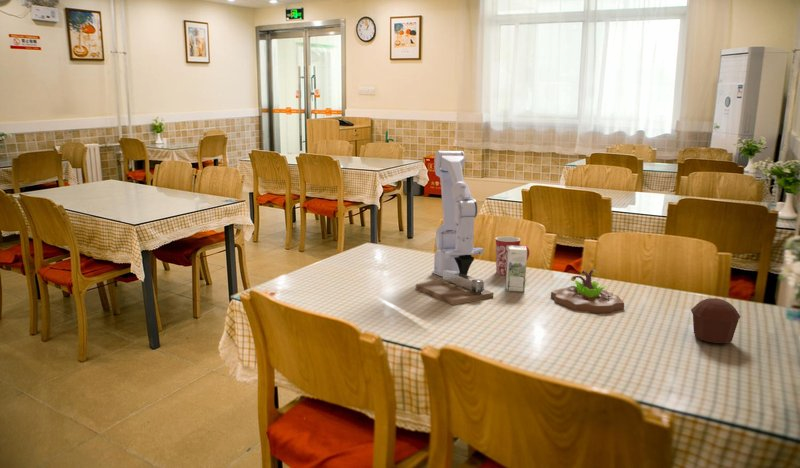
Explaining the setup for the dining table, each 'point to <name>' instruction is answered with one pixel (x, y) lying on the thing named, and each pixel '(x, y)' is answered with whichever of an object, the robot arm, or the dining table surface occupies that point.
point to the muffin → (715, 320)
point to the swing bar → (464, 280)
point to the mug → (505, 252)
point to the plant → (587, 296)
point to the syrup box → (516, 268)
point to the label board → (452, 292)
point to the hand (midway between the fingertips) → (463, 277)
